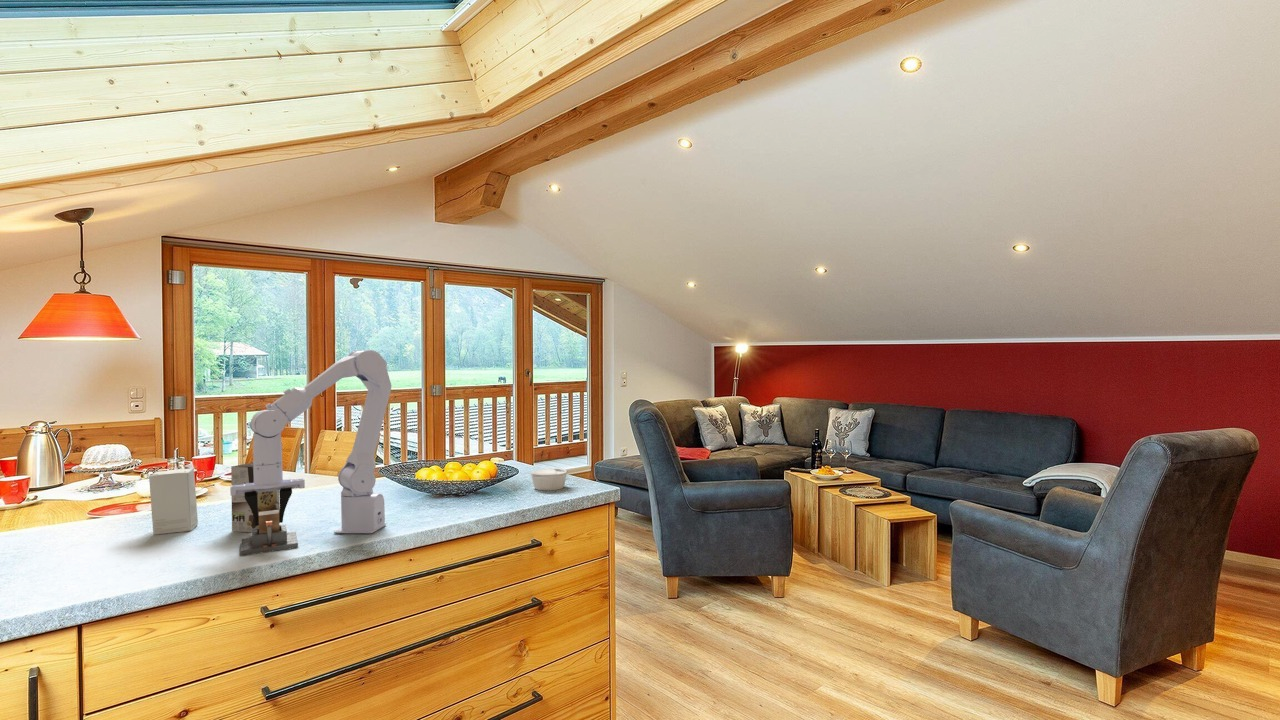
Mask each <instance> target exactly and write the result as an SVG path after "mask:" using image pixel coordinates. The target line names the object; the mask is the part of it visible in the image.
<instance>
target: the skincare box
mask: <svg viewBox="0 0 1280 720" xmlns="http://www.w3.org/2000/svg"><path fill="white" fill-rule="evenodd" d="M194 468H195V467H194ZM194 468H193V467H192V468H191V467H190V468H182V469H172V470H163V471H162V470H161V471H159V470H158V471H155V472H154V473H152V474H151V475H149V476H148V479H149V480H148V481H149V492H150V495H149V496H150V504H151V505H150V506H151V507H150V508H151V519H152V520H151V521H152V534H153V535H162V534H164V535H165V534H171V533H181V532H189V531H190V532H191V531H192V530H193V529H195V528H196V527H198V525H199V519H198V506H197V505H198V504H197V491H196V490H197V489H196V478H195V469H194Z"/></svg>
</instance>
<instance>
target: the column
mask: <svg viewBox="0 0 1280 720" xmlns="http://www.w3.org/2000/svg"><path fill="white" fill-rule="evenodd" d="M266 521H272V525H271V532H276V531H280V527H279V525H280V523H279V510H272V511H263V512H259V534H260V533H267V526H266Z"/></svg>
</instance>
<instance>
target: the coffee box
mask: <svg viewBox="0 0 1280 720" xmlns="http://www.w3.org/2000/svg"><path fill="white" fill-rule="evenodd" d="M230 469H231V470H230V471H231V473H230V474H231V481H230V483H231V485H230V487H231V486H233V485H241V484H247V483H254V474H253V461H252V462H248V463H244V464H243V463H242V464H238V465H233V466H231V468H230ZM276 488H278V487H276ZM259 490H260V489H259ZM279 491H280V490H276V491H266V492H258V514H259V512H263V511H272V510H280V494H279ZM244 497H245V494H237V495H233V496H231V532H237V533H239V532H240V533H241V532H242V533H252V529H253V528H259V525H258V526H255V520H254V516H253V513H252V511H251V509H250V507H249V505H248V503H247V502H246V500H245V498H244Z"/></svg>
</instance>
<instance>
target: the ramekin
mask: <svg viewBox="0 0 1280 720" xmlns="http://www.w3.org/2000/svg"><path fill="white" fill-rule="evenodd" d="M530 475H531V477H532V478H531V479H532V484H533V488H534V489H536V490H538V491H546V490H547V491H549V490H550V491H557V490H561V489H563V488H564V487H565V485H566V478H567V475H568V472H567V470H566V469H563V468H562V469H561V468H538V469H535V470H532V471H531V472H530ZM550 491H549V492H550Z"/></svg>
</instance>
